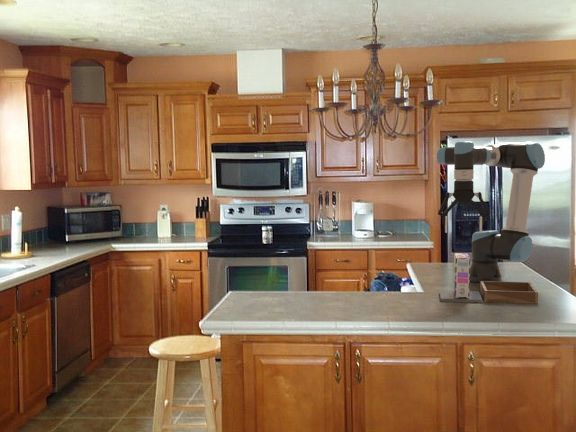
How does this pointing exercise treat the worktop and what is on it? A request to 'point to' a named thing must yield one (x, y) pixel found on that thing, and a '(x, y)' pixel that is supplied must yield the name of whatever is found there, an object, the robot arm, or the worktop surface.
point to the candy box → (461, 275)
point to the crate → (508, 292)
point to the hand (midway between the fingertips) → (463, 232)
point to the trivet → (450, 297)
